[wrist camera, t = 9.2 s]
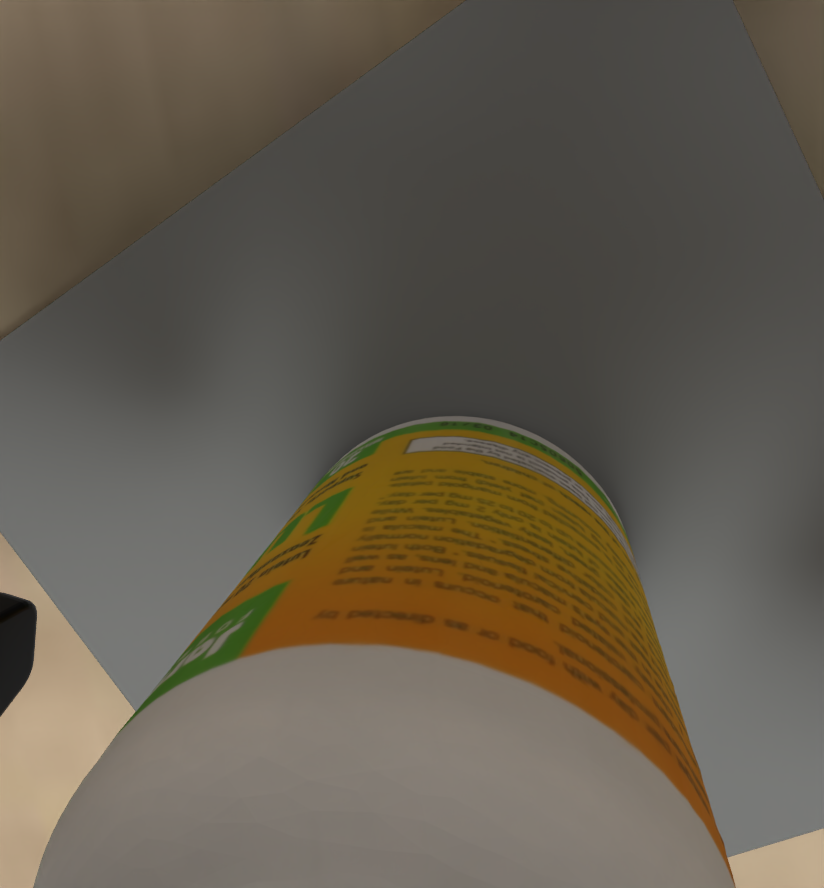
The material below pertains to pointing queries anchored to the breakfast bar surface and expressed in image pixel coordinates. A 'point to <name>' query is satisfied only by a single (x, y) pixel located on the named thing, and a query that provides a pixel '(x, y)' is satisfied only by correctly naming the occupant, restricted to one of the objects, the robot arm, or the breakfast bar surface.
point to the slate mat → (473, 354)
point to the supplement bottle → (413, 698)
